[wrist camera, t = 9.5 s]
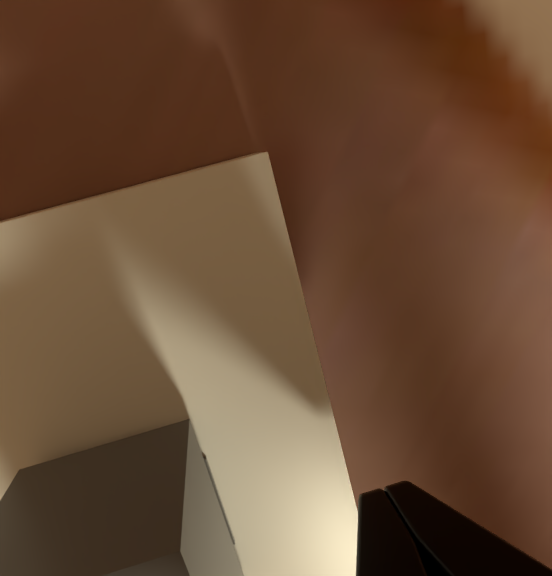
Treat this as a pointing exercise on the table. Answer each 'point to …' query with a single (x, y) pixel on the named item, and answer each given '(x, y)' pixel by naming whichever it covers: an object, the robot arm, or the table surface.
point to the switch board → (180, 353)
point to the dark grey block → (118, 512)
